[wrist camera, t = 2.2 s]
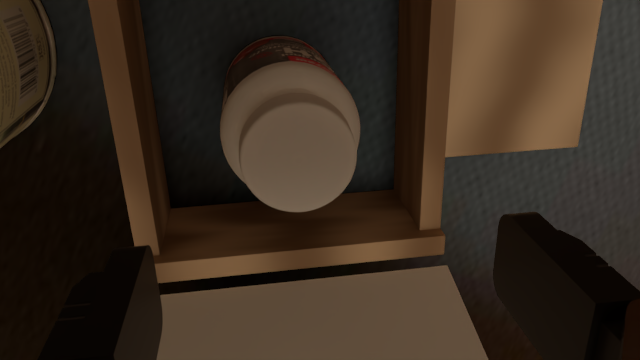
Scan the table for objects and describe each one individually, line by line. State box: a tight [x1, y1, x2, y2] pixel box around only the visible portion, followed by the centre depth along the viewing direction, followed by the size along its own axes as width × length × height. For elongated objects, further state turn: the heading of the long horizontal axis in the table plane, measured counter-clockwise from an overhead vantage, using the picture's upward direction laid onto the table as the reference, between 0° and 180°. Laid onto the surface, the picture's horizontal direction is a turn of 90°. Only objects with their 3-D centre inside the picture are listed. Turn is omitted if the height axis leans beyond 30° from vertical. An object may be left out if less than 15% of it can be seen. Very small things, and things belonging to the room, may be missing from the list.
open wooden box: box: [88, 0, 456, 283], centre depth 25 cm, size 14×14×5 cm
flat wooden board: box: [445, 0, 603, 157], centre depth 28 cm, size 8×10×1 cm
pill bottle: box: [220, 36, 360, 212], centre depth 23 cm, size 5×5×10 cm
